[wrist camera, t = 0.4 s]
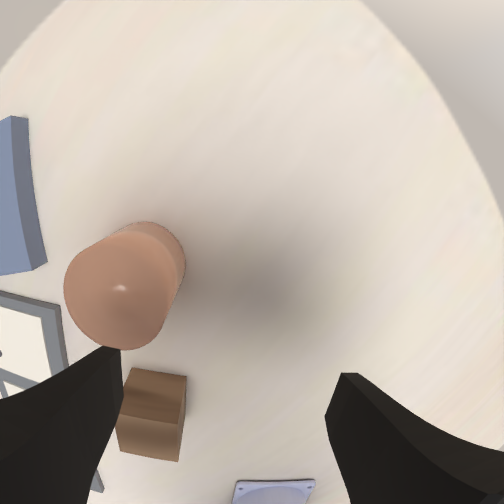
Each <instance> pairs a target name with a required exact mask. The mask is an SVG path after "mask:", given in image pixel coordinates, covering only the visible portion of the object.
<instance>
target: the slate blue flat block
mask: <svg viewBox="0 0 504 504" xmlns="http://www.w3.org/2000/svg"><path fill="white" fill-rule="evenodd" d="M46 262H48V261H47V257H46V253H45V248H44V244H43V239H42V235H41V230H40V224H39V219H38V213H37V207H36V201H35V194H34V187H33V179H32V170H31V160H30V148H29V130H28V119H26V118H21V117H16V116H9V117H7V118H5V119H3V120H1V121H0V276H2V275H8V274H14V273H21V272H27V271H32V270H34V269H36V268H38V267H39V266H41V265H43V264H45V263H46Z"/></svg>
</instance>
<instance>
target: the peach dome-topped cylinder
mask: <svg viewBox="0 0 504 504" xmlns="http://www.w3.org/2000/svg"><path fill="white" fill-rule="evenodd" d="M185 264H186V263H185V256H184V252H183V249H182V247H181V245H180V243H179V242H178V240H177V239H176V237H175V236H174V235H173V234H172V233H171V232H169V231H168V230H167V229H165V228H164V227H162V226H160V225H157V224H154V223H150V222H138V223H134V224H131V225H128V226H126V227H125V228H123V229H121V230H119V231H117V232H115V233H113V234H112V235H110V236H108V237H106V238H104V239H103V240H101V241H99V242H97V243H95V244H94V245H92V246H90V247H88V248H87V249H85V250H83V251H82V252H80V253H79V254H78V255H77V256H76V257H75V258H74V259H73V260H72V261H71V263H70V265H69V266H68V269H67V271H66V274H65V278H64V299H65V303H66V306H67V309H68V311H69V314H70V316H71V317H72V319H73V321H74V322H75V324H76V325H77V326H78V328H79V329H80V330H81V331H82V332H83V333H84V334H85V335H86V336H88V337H89V338H90V339H92V340H93V341H95V342H96V343H98V344H100V345H102V346H108V347H113V348H117V349H120V350H133V349H137V348H140V347H142V346H145V345H146V344H148V343H149V342H151V341H152V340H153V339H154V338H155V337H156V336H157V335H158V333H159V332H160V330H161V328H162V326H163V323H164V321H165V319H166V316H167V314H168V312H169V309H170V307H171V305H172V302H173V300H174V298H175V296H176V293H177V291H178V289H179V286H180V284H181V282H182V280H183V277H184V274H185Z"/></svg>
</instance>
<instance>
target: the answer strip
mask: <svg viewBox="0 0 504 504" xmlns="http://www.w3.org/2000/svg"><path fill="white" fill-rule="evenodd" d="M67 367H69V366H68V360H67V355H66V349H65V342H64V336H63V328H62V321H61V312H60V305H55V304H51V303H47V302H42V301H38V300H34V299H30V298H26V297H22V296H18V295H14V294H11V293H7V292H3V291H0V392H1V394H2V397H3V398H6V397H9V396H11V395H14V394H16V393H19V392H21V391H24V390H26V389H28V388H31V387H33V386H35V385H37V384H39V383H41V382H42V381H44V380H46V379H48V378H50V377H52V376H54V375H55V374H57V373H59V372H61V371H62V370H64V369H66V368H67ZM90 490H93V491H97V492H100V493H103V491H104V486H103V484H102V481H101V479H100V476H99V473H98V471H97V469H96V471H95V474H94V477H93V480H92V484H91V488H90Z"/></svg>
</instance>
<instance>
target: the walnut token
mask: <svg viewBox="0 0 504 504" xmlns="http://www.w3.org/2000/svg"><path fill="white" fill-rule="evenodd" d="M123 392H124V398H123V402H122V405H121V409H120V413H119V416H118V419H117V422H116V425H115V429H116V434H117V439H118V443H119V448H120V451H122V452H126V453H130V454H135V455H140V456H145V457H150V458H156V459H162V460H168V461H174V462H178V460H179V453H180V446H181V439H182V433H183V426H184V420H185V405H186V376H181V375H174V374H168V373H161V372H155V371H149V370H143V369H138V368H132V369H131V371H130V373H129V375H128V378H127V380H126V382H125V384H124V387H123Z"/></svg>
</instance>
